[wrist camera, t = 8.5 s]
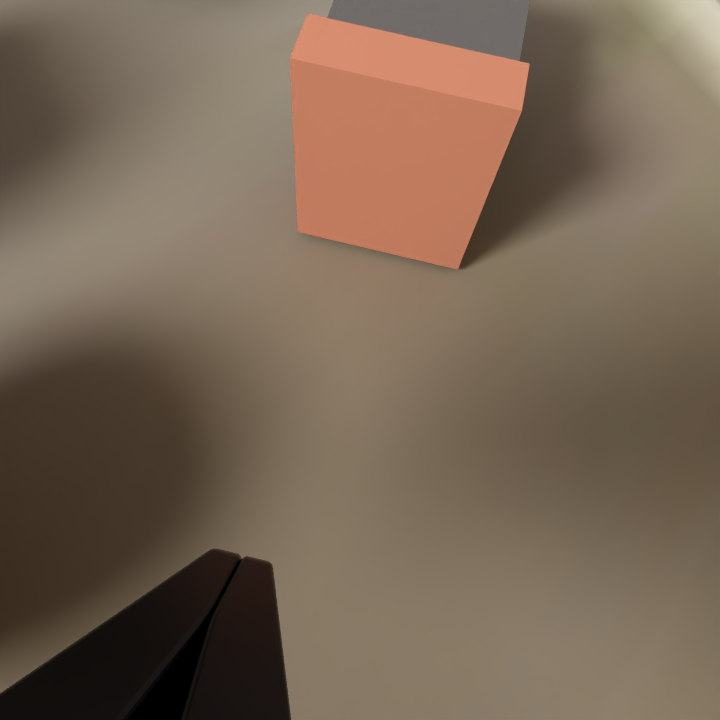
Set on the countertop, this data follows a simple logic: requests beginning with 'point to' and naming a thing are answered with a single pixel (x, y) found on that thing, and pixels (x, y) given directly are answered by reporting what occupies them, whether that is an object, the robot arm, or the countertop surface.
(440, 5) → the housing
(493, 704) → the countertop surface
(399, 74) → the pink block
